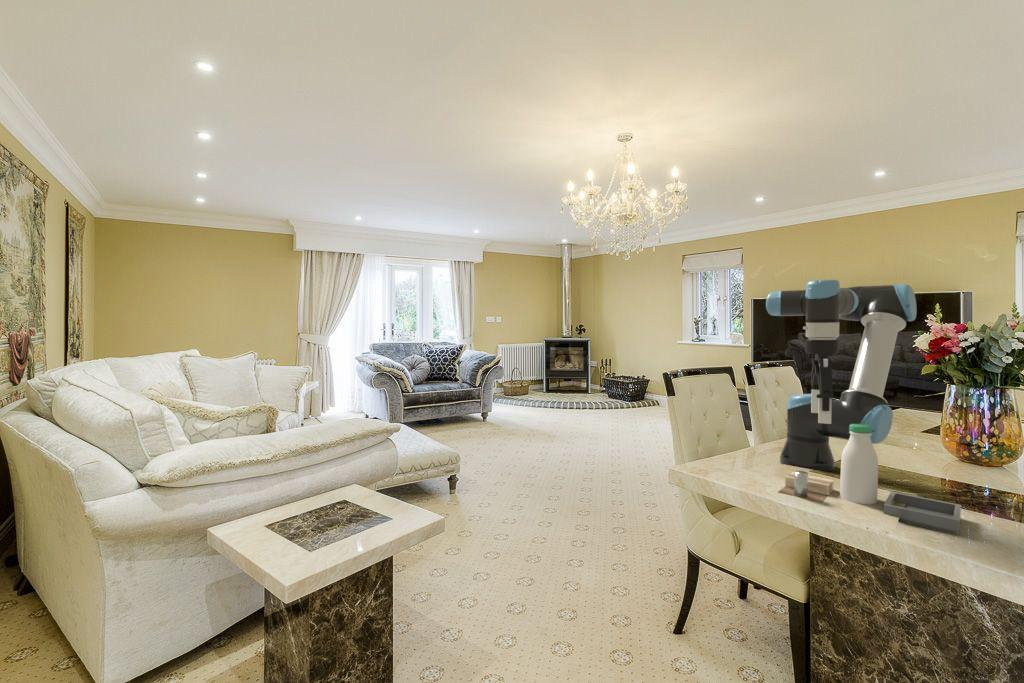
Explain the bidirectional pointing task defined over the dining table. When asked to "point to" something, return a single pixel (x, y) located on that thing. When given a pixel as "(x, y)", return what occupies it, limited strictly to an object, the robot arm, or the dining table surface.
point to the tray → (925, 512)
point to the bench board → (811, 496)
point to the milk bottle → (859, 467)
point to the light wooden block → (813, 484)
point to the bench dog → (801, 484)
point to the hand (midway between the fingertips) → (820, 417)
